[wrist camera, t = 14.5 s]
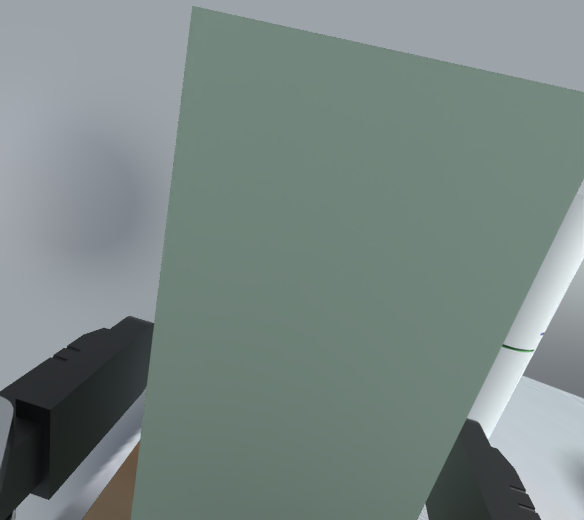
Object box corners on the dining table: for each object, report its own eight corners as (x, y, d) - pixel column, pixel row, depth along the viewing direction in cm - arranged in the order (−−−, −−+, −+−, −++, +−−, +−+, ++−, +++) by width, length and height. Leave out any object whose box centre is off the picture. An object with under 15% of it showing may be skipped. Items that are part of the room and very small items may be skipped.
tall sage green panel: (202, 534, 16) (296, 102, 10) (289, 564, 15) (437, 135, 10) (95, 811, 9) (192, 6, 3) (244, 873, 9) (621, 101, 3)
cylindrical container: (499, 423, 40) (615, 205, 32) (477, 452, 35) (608, 201, 27) (440, 384, 44) (528, 185, 36) (412, 404, 39) (507, 178, 31)
